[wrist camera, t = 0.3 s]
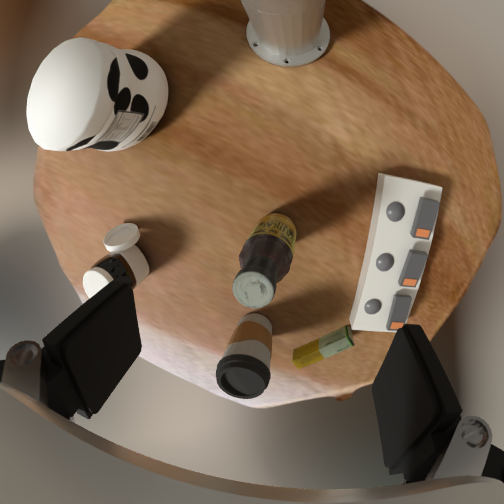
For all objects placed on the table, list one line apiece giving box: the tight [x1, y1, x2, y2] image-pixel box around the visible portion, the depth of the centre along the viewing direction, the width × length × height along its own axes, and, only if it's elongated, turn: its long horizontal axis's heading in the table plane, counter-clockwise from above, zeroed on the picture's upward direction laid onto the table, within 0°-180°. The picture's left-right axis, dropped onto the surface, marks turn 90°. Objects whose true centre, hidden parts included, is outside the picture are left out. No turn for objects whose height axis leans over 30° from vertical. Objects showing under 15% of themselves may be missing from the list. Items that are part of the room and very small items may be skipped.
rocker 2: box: [410, 197, 440, 240], centre depth 34 cm, size 6×3×1 cm, turn 177°
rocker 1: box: [386, 294, 412, 331], centre depth 40 cm, size 6×3×1 cm, turn 177°
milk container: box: [26, 38, 168, 151], centre depth 31 cm, size 17×17×18 cm
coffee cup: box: [216, 313, 272, 399], centre depth 44 cm, size 8×8×15 cm
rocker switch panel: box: [349, 173, 442, 332], centre depth 41 cm, size 26×10×4 cm, turn 177°
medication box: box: [292, 325, 354, 369], centre depth 49 cm, size 12×3×4 cm, turn 125°
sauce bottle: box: [233, 213, 296, 308], centre depth 35 cm, size 6×6×20 cm
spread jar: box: [83, 223, 149, 298], centre depth 45 cm, size 12×11×12 cm
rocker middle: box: [398, 249, 428, 288], centre depth 37 cm, size 6×3×1 cm, turn 176°
